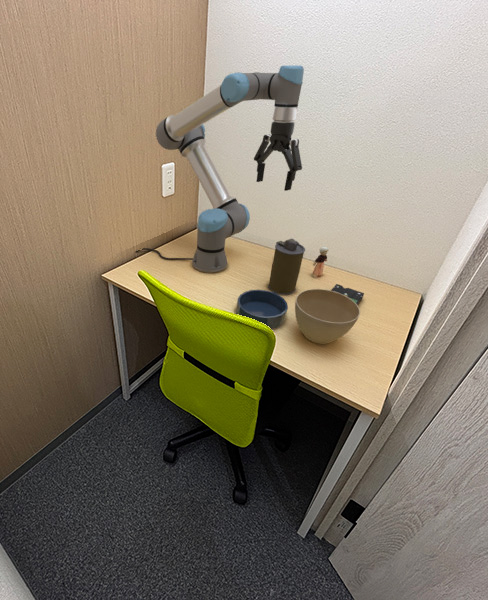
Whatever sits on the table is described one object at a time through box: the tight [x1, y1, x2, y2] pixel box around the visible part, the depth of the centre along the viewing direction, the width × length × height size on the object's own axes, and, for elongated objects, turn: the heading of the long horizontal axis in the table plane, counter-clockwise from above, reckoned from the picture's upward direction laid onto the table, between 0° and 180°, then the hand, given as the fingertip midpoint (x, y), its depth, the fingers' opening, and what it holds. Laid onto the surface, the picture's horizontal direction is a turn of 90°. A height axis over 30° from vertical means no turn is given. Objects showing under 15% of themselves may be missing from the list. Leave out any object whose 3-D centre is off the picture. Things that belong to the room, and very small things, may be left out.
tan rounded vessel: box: [294, 288, 361, 345], centre depth 104 cm, size 18×18×12 cm
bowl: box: [235, 289, 289, 330], centre depth 115 cm, size 17×17×5 cm
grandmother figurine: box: [311, 246, 329, 278], centre depth 136 cm, size 8×4×13 cm, turn 131°
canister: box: [267, 238, 306, 296], centre depth 125 cm, size 11×10×20 cm
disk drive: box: [330, 283, 365, 306], centre depth 122 cm, size 10×3×15 cm
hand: (273, 185), depth 125 cm, fingers open, 13 cm apart
